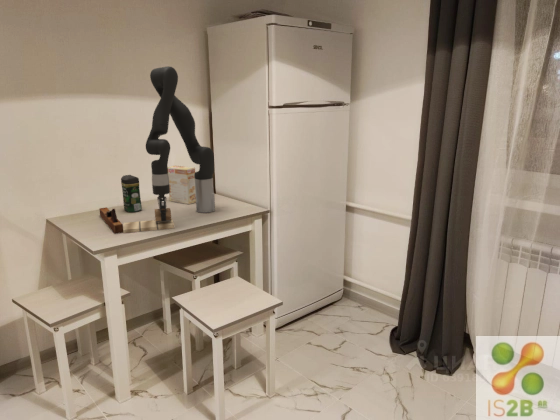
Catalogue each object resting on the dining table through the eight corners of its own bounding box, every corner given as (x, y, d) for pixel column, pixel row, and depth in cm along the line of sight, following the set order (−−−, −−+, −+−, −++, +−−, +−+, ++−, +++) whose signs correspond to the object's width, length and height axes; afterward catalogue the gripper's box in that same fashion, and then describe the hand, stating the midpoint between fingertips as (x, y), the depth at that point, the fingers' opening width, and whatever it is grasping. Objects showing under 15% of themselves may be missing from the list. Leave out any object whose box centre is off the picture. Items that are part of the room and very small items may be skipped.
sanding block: (170, 218, 208) (169, 207, 206) (171, 220, 203) (170, 210, 202) (155, 219, 205) (154, 209, 204) (155, 222, 201) (154, 211, 200)
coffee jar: (121, 209, 232) (118, 175, 227) (136, 207, 237) (133, 173, 232) (129, 213, 225) (125, 177, 220) (144, 210, 230) (140, 175, 225)
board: (172, 221, 211) (172, 218, 211) (174, 228, 201) (174, 225, 201) (123, 225, 205) (123, 222, 205) (123, 233, 195) (123, 229, 194)
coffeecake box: (197, 201, 247) (195, 167, 242) (188, 204, 241) (186, 169, 236) (178, 198, 255) (175, 165, 249) (169, 201, 249) (166, 167, 244)
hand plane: (127, 232, 197) (125, 210, 194) (115, 234, 194) (112, 212, 191) (107, 214, 224) (105, 195, 221) (97, 216, 221) (94, 197, 218)
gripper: (170, 185, 194) (172, 223, 199) (168, 179, 207) (170, 214, 212) (152, 187, 192) (155, 224, 197) (151, 180, 205) (154, 216, 210)
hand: (163, 219), depth 204 cm, fingers closed on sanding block, 4 cm apart
